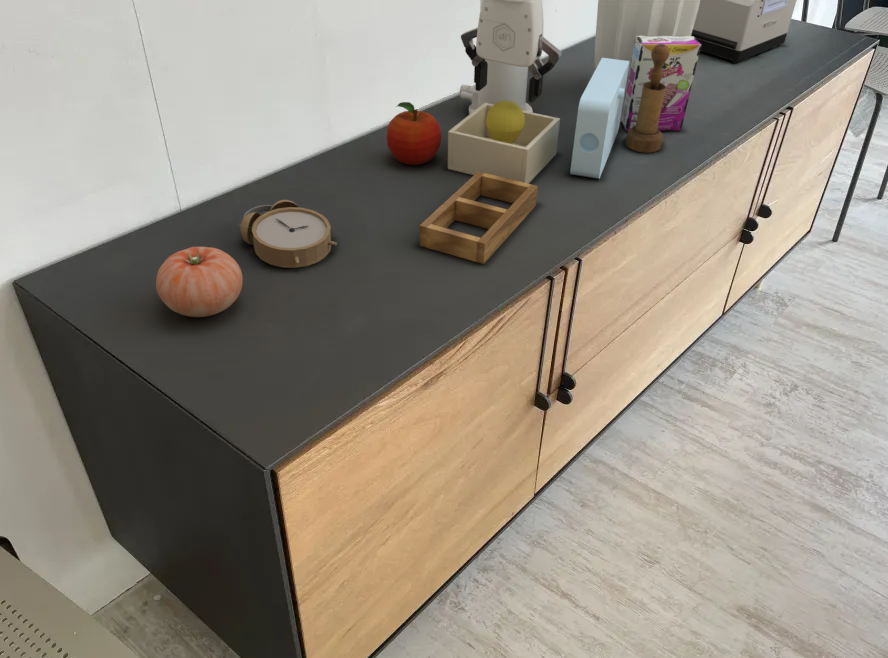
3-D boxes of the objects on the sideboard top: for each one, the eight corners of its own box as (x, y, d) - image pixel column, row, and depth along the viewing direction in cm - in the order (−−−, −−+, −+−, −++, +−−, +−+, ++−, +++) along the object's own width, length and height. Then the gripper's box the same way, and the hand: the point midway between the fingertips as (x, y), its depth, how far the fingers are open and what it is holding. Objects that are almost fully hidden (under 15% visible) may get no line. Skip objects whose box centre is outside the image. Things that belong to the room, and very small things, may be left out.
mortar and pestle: (660, 154, 142) (681, 53, 130) (624, 151, 143) (642, 49, 131) (660, 139, 147) (680, 40, 135) (625, 136, 148) (642, 37, 136)
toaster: (735, 66, 178) (756, -16, 166) (646, 39, 191) (660, -39, 180) (788, 45, 190) (810, -34, 178) (700, 20, 204) (716, -54, 192)
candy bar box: (625, 132, 149) (641, 43, 138) (619, 122, 153) (634, 34, 142) (683, 132, 150) (702, 43, 139) (675, 121, 153) (694, 34, 143)
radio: (603, 182, 133) (615, 106, 124) (569, 177, 134) (579, 101, 125) (623, 129, 150) (635, 59, 141) (593, 125, 151) (603, 55, 142)
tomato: (148, 324, 100) (133, 272, 95) (185, 279, 108) (172, 228, 103) (227, 335, 99) (216, 282, 94) (259, 288, 107) (250, 237, 102)
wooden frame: (419, 246, 116) (419, 225, 114) (477, 190, 130) (478, 171, 128) (483, 264, 113) (484, 243, 110) (536, 205, 126) (538, 185, 124)
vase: (698, 106, 159) (732, -42, 141) (616, 119, 154) (640, -35, 136) (646, 74, 173) (672, -65, 155) (569, 84, 167) (586, -59, 149)
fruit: (426, 176, 133) (426, 119, 127) (377, 165, 136) (375, 109, 130) (450, 154, 140) (451, 99, 134) (403, 144, 143) (401, 90, 136)
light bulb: (490, 168, 135) (493, 111, 128) (479, 151, 139) (481, 96, 133) (527, 164, 136) (532, 107, 129) (514, 147, 141) (518, 93, 134)
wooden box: (447, 169, 136) (448, 131, 131) (483, 138, 146) (484, 102, 141) (524, 188, 131) (528, 149, 126) (556, 154, 141) (560, 118, 136)
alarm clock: (286, 261, 107) (220, 206, 113) (286, 288, 111) (222, 234, 116) (348, 231, 113) (282, 181, 119) (346, 257, 117) (282, 207, 123)
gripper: (453, -18, 120) (451, 91, 131) (558, 0, 114) (546, 113, 126) (474, -30, 125) (470, 76, 136) (575, -14, 119) (563, 96, 131)
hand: (507, 93), depth 131 cm, fingers open, 9 cm apart
